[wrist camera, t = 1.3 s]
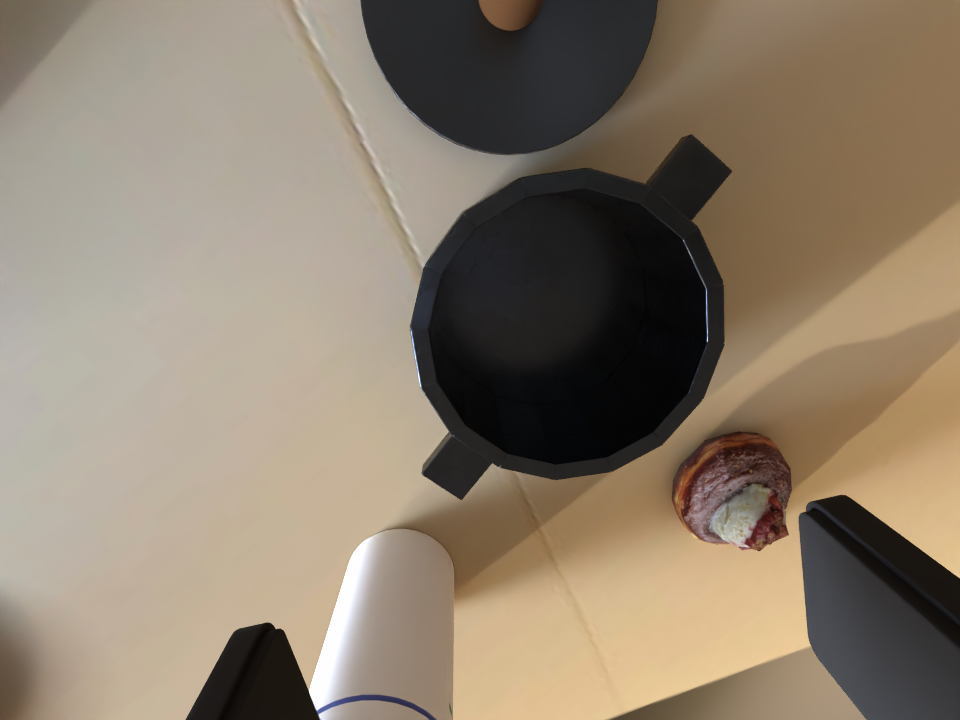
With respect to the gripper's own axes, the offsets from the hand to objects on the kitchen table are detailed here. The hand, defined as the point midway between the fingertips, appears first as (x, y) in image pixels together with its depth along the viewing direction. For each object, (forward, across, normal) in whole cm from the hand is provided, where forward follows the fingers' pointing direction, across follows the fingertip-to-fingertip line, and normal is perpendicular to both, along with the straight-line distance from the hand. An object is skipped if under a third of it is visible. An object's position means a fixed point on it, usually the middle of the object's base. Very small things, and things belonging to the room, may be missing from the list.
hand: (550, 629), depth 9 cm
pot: (+23, -3, -1) cm, 23 cm away
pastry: (+24, -13, +13) cm, 30 cm away
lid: (+23, -5, -17) cm, 29 cm away
